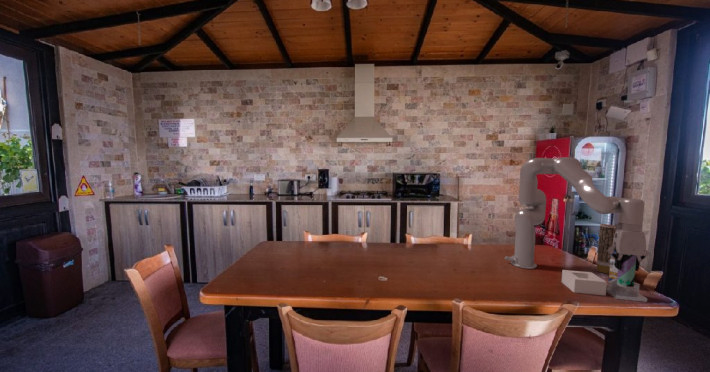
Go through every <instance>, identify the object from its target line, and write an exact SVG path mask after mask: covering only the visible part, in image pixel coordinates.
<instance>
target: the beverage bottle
mask: <svg viewBox="0 0 710 372" xmlns="http://www.w3.org/2000/svg"><path fill="white" fill-rule="evenodd" d="M613 252H614V253H616V252H615V251H613ZM610 256H611V259H610V273H609V274H608V275H609V276H608V280H607V281H608V282H609V281H611V280H613V279H615V278H616V279H617V275H618V269H617V268H615V258H614V257H613V256H612V255H610Z"/></svg>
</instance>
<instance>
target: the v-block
mask: <svg viewBox="0 0 710 372" xmlns="http://www.w3.org/2000/svg"><path fill="white" fill-rule="evenodd" d="M606 294H608V295H610V296H611V297H613V298H614V299H615V300H623V301H624V300H626V301H633V302H634V301H635V302H645V303H648V297H645V296H644V295H643V294H641V293H640V283H637V282H634V288H632V289H630V288H624V287H621V286H618V285H617V279H616V278H615V279H613V280H611V281H608V285H606Z"/></svg>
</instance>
